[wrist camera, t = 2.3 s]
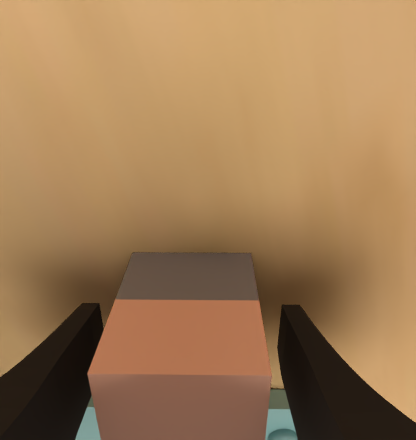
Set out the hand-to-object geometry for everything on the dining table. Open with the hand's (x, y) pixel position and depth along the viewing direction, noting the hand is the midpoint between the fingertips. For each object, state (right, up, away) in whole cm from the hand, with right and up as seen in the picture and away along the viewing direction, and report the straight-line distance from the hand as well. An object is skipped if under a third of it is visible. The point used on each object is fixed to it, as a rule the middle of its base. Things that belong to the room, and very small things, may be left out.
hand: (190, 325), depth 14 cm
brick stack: (0, +1, +1) cm, 2 cm away
